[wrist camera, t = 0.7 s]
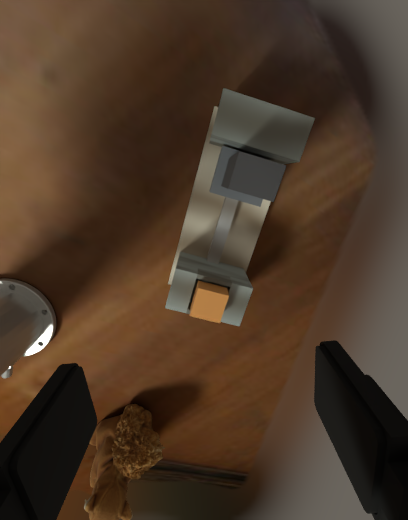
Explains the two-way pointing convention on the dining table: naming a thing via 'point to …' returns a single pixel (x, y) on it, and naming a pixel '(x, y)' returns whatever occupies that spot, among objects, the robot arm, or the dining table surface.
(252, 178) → the block
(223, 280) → the grey block assembly
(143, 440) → the stuffed squirrel
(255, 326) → the dining table surface
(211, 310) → the button
